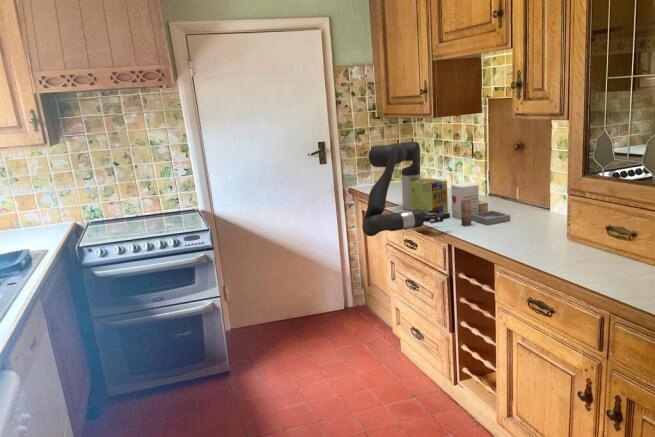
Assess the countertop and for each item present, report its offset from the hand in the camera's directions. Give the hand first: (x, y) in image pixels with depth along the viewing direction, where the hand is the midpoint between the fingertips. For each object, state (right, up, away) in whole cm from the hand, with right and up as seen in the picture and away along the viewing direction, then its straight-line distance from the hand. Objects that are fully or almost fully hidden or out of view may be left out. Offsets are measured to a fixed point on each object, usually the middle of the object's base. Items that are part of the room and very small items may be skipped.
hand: (443, 213), depth 218 cm
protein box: (0, +1, +34) cm, 33 cm away
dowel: (+11, -5, +5) cm, 13 cm away
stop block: (+20, 0, +21) cm, 29 cm away
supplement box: (+14, -1, +19) cm, 24 cm away
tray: (+22, -3, +8) cm, 24 cm away
